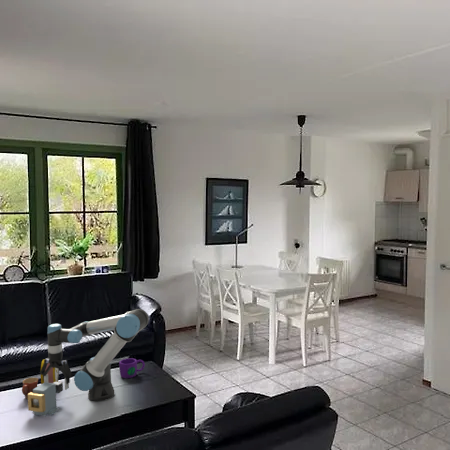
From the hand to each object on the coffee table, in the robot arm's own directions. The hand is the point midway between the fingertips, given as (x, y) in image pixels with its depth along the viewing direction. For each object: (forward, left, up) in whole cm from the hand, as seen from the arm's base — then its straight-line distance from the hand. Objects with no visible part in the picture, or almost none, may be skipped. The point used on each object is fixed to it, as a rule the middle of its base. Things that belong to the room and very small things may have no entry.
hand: (56, 387), depth 273 cm
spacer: (0, +18, -5) cm, 19 cm away
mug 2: (-23, -48, -9) cm, 54 cm away
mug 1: (+20, -1, -9) cm, 22 cm away
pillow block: (0, +11, -9) cm, 14 cm away
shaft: (0, +9, -2) cm, 9 cm away
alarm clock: (+18, -18, -9) cm, 27 cm away
